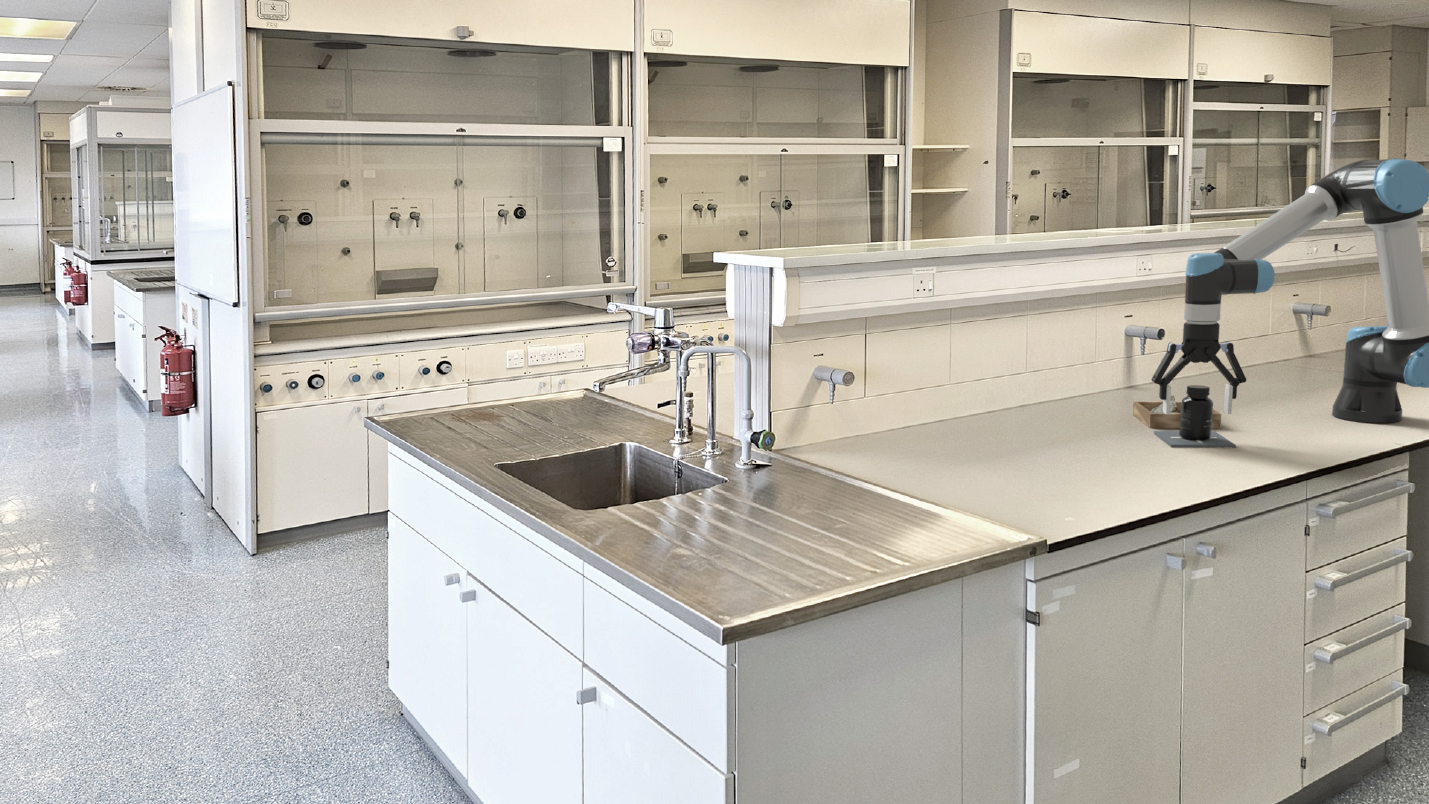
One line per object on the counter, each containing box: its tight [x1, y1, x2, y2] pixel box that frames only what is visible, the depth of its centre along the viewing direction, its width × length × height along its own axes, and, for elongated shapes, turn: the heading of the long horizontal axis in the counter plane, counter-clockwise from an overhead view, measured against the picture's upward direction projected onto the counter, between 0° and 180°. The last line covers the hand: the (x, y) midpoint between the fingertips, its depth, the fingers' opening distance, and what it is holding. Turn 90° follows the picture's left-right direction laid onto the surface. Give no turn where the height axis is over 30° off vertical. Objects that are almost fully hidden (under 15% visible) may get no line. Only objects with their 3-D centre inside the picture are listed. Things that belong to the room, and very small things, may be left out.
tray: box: [1132, 401, 1222, 429], centre depth 275 cm, size 17×16×4 cm
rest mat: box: [1153, 430, 1237, 449], centre depth 255 cm, size 14×14×1 cm
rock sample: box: [1150, 394, 1179, 413], centre depth 277 cm, size 10×8×9 cm
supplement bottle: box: [1178, 384, 1214, 440], centre depth 254 cm, size 7×7×12 cm
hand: (1196, 413), depth 254 cm, fingers open, 13 cm apart
